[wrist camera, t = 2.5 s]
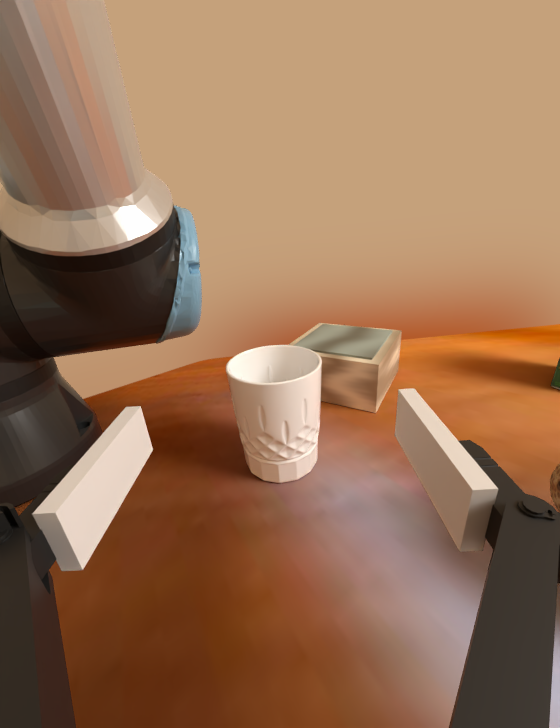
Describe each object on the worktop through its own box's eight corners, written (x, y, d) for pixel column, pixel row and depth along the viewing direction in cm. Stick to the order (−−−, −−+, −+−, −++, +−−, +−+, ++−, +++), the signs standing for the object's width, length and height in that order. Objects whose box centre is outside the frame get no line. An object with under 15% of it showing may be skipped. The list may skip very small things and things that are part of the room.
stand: (283, 392, 41) (280, 348, 39) (320, 358, 51) (319, 321, 48) (375, 413, 36) (378, 362, 33) (397, 370, 45) (401, 328, 42)
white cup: (270, 504, 25) (258, 395, 21) (226, 454, 31) (209, 361, 27) (341, 460, 29) (342, 361, 25) (289, 423, 35) (283, 338, 31)
